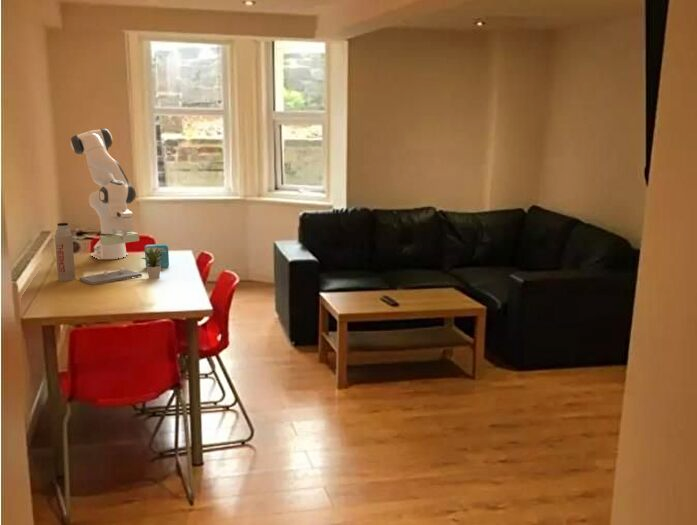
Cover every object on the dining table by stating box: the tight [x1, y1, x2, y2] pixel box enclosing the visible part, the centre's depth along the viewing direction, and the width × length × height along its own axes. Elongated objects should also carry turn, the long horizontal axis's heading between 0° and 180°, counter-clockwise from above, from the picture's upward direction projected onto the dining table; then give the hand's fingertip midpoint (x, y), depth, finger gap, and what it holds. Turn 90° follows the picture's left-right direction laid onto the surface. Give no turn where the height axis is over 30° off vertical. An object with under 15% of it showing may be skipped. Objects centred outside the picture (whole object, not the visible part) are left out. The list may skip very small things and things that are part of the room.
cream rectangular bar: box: [99, 231, 140, 245], centre depth 371 cm, size 18×6×4 cm, turn 137°
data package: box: [144, 243, 170, 269], centre depth 381 cm, size 12×4×12 cm, turn 105°
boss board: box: [78, 267, 143, 286], centre depth 355 cm, size 14×26×4 cm, turn 137°
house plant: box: [140, 246, 169, 280], centre depth 354 cm, size 14×14×16 cm
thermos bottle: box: [54, 222, 76, 282], centre depth 350 cm, size 8×8×28 cm
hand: (119, 238), depth 371 cm, fingers closed on cream rectangular bar, 6 cm apart
